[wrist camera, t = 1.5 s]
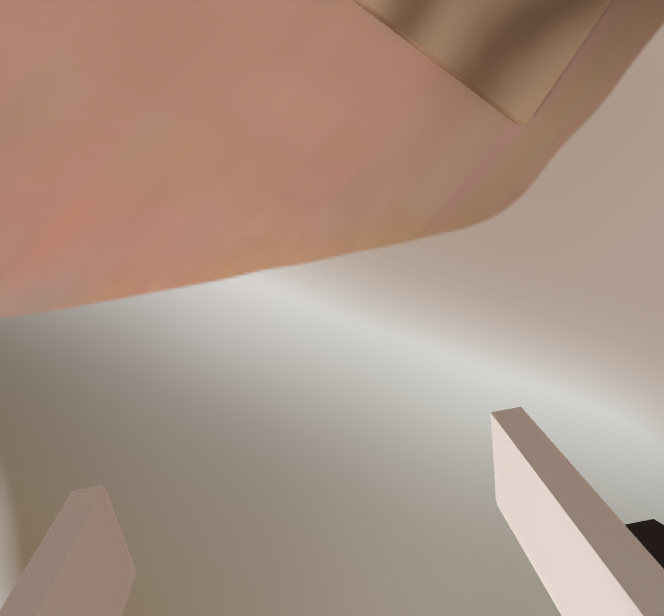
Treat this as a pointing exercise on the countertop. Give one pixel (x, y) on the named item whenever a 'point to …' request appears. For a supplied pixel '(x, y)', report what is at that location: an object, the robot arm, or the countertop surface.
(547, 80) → the brown square base board
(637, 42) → the countertop surface
